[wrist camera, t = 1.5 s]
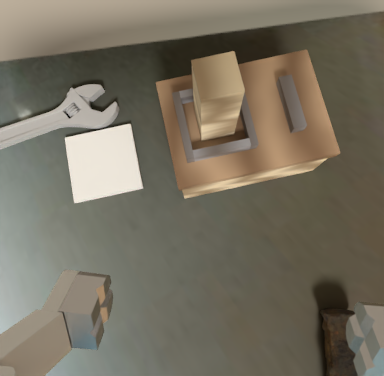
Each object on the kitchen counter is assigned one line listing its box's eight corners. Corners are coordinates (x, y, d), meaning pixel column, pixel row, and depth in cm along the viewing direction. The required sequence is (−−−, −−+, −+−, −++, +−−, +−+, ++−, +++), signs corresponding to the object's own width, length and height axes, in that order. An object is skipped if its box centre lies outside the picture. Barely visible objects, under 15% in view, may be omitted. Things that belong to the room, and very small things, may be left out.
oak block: (226, 104, 38) (234, 50, 28) (233, 134, 37) (245, 90, 27) (194, 111, 38) (191, 60, 28) (201, 141, 37) (200, 99, 27)
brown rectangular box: (289, 85, 47) (311, 41, 37) (315, 172, 44) (346, 148, 35) (163, 112, 46) (153, 75, 37) (183, 201, 44) (177, 185, 34)
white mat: (131, 125, 46) (130, 123, 46) (143, 188, 44) (142, 187, 44) (66, 139, 46) (64, 137, 46) (75, 203, 44) (74, 202, 44)
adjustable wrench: (-56, 172, 46) (-66, 168, 45) (-61, 129, 48) (-71, 124, 46) (121, 124, 47) (118, 119, 45) (111, 83, 48) (108, 76, 46)
